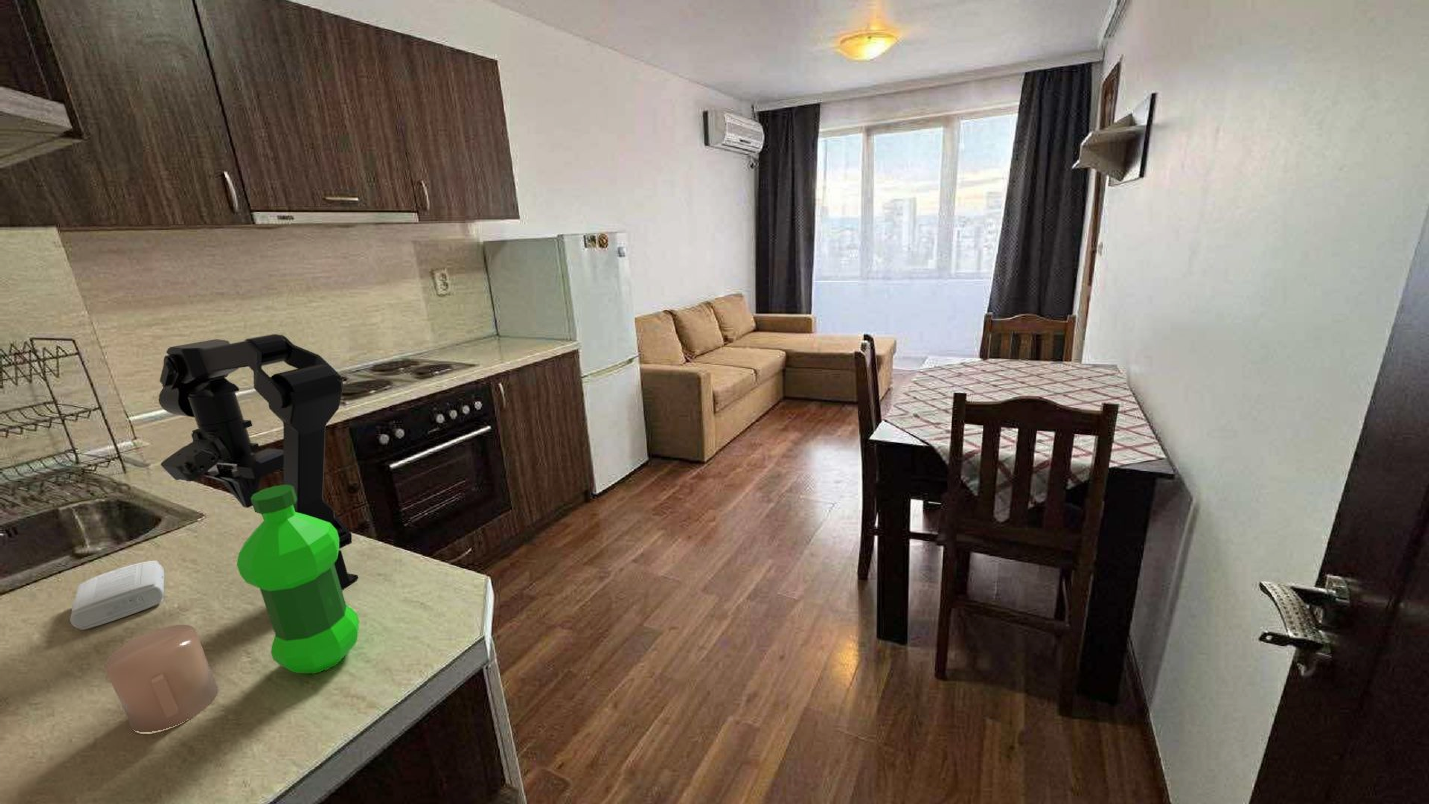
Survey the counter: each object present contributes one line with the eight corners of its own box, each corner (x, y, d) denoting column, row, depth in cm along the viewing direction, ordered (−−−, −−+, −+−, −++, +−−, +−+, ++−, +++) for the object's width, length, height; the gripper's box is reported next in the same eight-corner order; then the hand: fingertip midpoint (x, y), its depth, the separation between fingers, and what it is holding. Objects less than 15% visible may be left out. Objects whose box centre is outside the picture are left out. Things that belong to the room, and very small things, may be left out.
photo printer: (168, 603, 92) (167, 573, 101) (159, 580, 91) (159, 552, 99) (76, 636, 85) (84, 601, 94) (64, 611, 84) (73, 578, 93)
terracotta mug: (132, 708, 71) (105, 649, 68) (214, 672, 76) (192, 615, 74) (132, 754, 65) (102, 690, 62) (222, 711, 70) (199, 651, 67)
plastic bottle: (308, 698, 71) (249, 518, 64) (262, 673, 76) (201, 503, 68) (383, 646, 80) (339, 482, 72) (338, 626, 84) (291, 470, 77)
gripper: (120, 433, 88) (156, 524, 92) (205, 441, 82) (238, 537, 87) (201, 410, 98) (229, 493, 103) (281, 416, 92) (307, 503, 97)
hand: (248, 506), depth 97 cm, fingers closed
